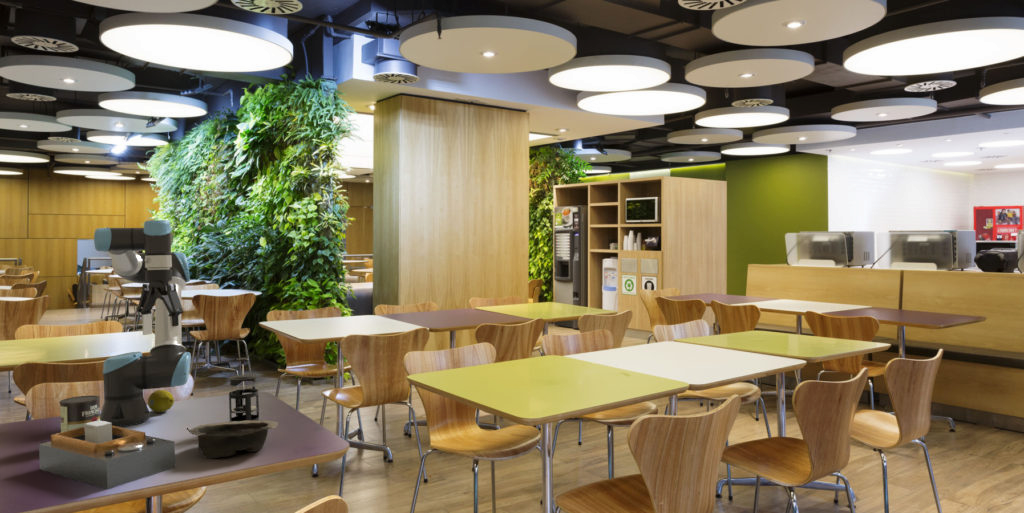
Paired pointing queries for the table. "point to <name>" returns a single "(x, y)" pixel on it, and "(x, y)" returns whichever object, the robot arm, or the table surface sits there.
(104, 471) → the grey open box
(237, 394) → the french press
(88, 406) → the coffee can
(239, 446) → the stone bowl
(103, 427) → the skincare box
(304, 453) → the table surface
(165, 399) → the lemon
